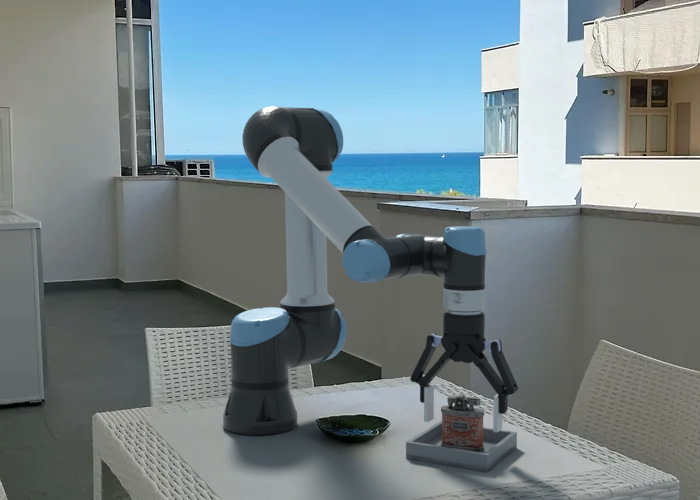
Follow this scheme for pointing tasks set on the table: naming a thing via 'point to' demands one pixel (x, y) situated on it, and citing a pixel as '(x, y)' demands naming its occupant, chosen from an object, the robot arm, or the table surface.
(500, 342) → the robot arm
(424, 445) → the tray
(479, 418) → the lighter
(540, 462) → the table surface
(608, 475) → the table surface
